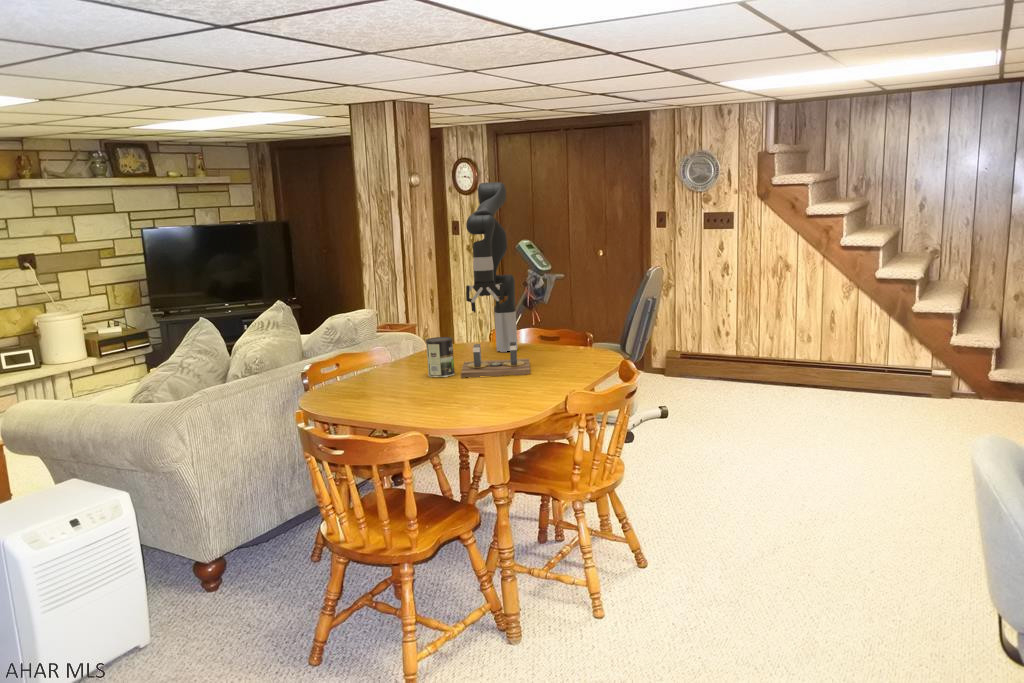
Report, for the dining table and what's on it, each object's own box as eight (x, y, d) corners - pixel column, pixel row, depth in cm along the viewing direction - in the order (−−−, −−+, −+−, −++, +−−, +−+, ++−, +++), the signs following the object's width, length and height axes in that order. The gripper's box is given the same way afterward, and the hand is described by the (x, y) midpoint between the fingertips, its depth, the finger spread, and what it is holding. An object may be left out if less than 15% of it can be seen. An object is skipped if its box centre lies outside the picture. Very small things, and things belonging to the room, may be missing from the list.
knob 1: (468, 364, 319) (466, 344, 318) (488, 363, 319) (487, 343, 318) (467, 369, 310) (465, 348, 309) (488, 368, 310) (486, 347, 309)
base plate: (464, 366, 326) (464, 359, 325) (529, 363, 325) (528, 355, 325) (461, 378, 304) (460, 370, 303) (530, 374, 304) (530, 366, 303)
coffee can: (455, 371, 317) (453, 336, 315) (454, 377, 307) (451, 340, 305) (429, 373, 317) (426, 337, 315) (426, 378, 307) (424, 342, 305)
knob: (503, 362, 319) (502, 342, 317) (524, 361, 319) (523, 341, 317) (503, 367, 310) (502, 346, 308) (524, 366, 310) (523, 345, 308)
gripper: (502, 267, 309) (504, 309, 312) (464, 269, 309) (467, 311, 311) (502, 268, 302) (504, 312, 304) (464, 270, 301) (466, 314, 304)
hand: (485, 311), depth 308 cm, fingers open, 8 cm apart
